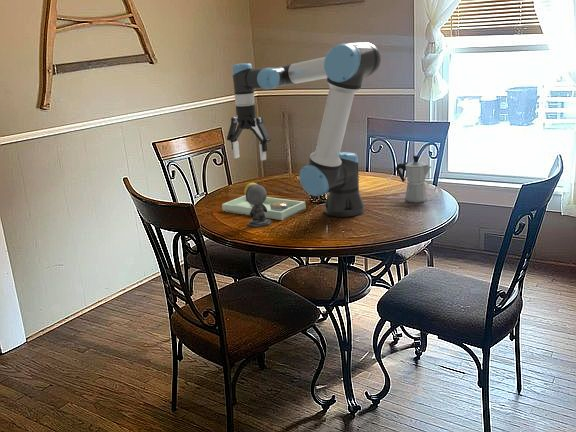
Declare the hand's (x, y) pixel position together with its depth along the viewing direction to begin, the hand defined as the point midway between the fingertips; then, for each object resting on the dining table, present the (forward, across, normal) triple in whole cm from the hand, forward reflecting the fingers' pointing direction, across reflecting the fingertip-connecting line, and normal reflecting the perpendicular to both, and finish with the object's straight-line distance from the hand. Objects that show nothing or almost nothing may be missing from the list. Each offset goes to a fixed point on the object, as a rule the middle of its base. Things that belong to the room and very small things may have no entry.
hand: (250, 158), depth 231 cm
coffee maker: (+21, -53, -36) cm, 68 cm away
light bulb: (+20, 0, 0) cm, 20 cm away
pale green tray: (+21, -5, 0) cm, 21 cm away
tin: (+20, -13, 0) cm, 24 cm away
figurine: (+21, -14, +15) cm, 30 cm away
